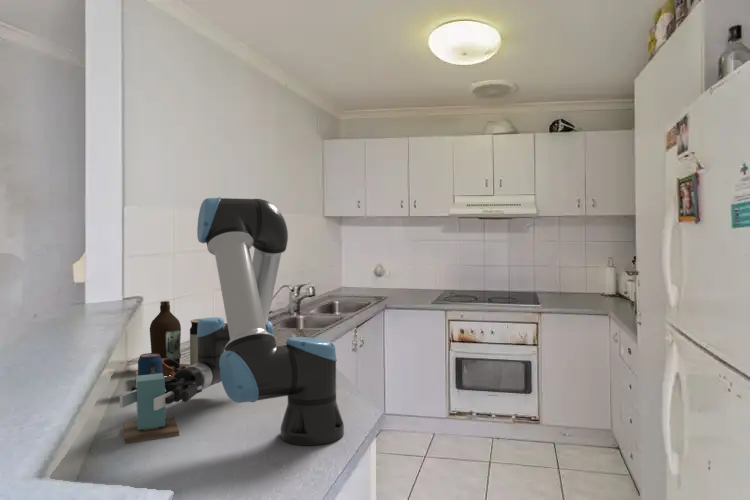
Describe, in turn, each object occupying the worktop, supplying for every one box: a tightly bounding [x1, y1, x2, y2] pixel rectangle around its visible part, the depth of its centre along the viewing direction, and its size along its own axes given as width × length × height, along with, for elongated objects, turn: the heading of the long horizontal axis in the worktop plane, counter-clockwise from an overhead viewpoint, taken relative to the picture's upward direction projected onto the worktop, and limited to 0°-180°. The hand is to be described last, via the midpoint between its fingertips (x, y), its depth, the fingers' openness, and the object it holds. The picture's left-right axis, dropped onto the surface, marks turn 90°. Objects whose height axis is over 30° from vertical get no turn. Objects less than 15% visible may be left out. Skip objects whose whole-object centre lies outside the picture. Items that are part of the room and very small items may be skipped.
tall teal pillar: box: [135, 373, 166, 430], centre depth 137 cm, size 6×6×12 cm
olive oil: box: [149, 300, 182, 367], centre depth 202 cm, size 11×11×25 cm
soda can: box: [137, 352, 162, 376], centre depth 171 cm, size 7×7×12 cm
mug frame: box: [135, 364, 190, 380], centre depth 186 cm, size 15×17×3 cm
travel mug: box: [189, 318, 202, 366], centre depth 204 cm, size 8×8×18 cm
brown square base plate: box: [123, 416, 180, 444], centre depth 137 cm, size 12×12×9 cm
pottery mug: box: [162, 358, 182, 376], centre depth 187 cm, size 12×10×8 cm
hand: (138, 403), depth 133 cm, fingers closed on tall teal pillar, 9 cm apart
